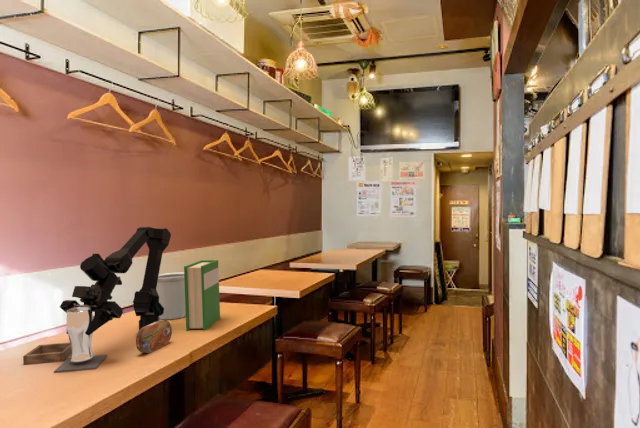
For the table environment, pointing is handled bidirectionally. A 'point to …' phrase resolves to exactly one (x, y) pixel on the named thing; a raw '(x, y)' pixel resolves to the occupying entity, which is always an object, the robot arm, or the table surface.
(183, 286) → the utensil holder
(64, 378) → the table surface
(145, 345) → the tin
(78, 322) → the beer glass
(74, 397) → the table surface
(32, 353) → the brown square tray
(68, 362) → the rubber mat
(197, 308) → the hardback book
